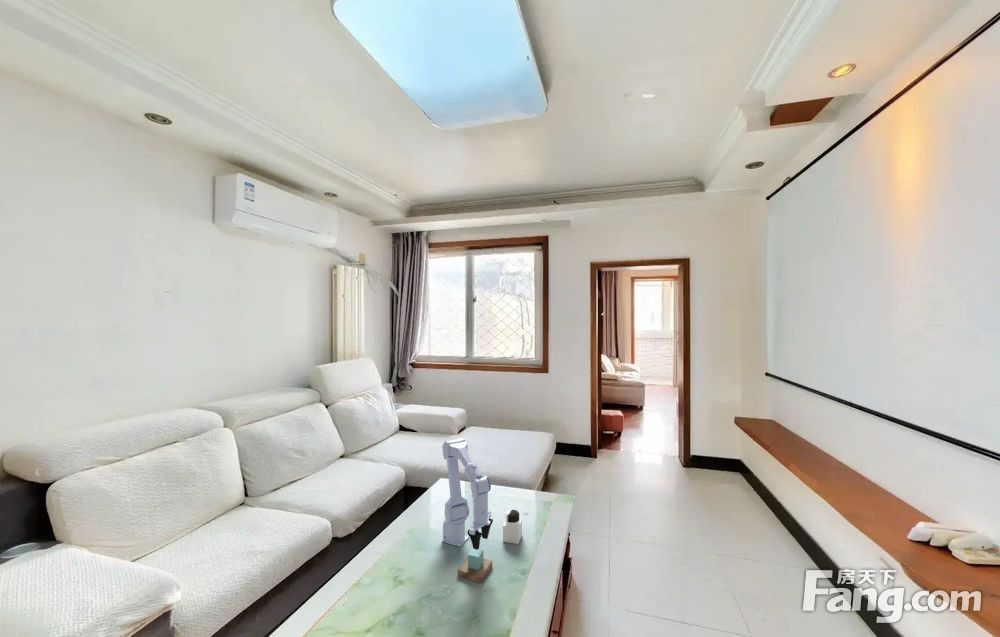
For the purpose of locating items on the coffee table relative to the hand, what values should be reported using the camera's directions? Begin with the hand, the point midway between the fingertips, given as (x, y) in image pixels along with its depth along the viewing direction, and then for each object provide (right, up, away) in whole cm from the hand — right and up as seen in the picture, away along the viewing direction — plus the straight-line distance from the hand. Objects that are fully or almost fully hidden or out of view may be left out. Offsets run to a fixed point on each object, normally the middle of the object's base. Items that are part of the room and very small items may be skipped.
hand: (480, 543), depth 150 cm
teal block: (-2, -7, -2) cm, 8 cm away
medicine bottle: (+13, -10, +20) cm, 26 cm away
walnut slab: (-2, -10, -2) cm, 11 cm away
